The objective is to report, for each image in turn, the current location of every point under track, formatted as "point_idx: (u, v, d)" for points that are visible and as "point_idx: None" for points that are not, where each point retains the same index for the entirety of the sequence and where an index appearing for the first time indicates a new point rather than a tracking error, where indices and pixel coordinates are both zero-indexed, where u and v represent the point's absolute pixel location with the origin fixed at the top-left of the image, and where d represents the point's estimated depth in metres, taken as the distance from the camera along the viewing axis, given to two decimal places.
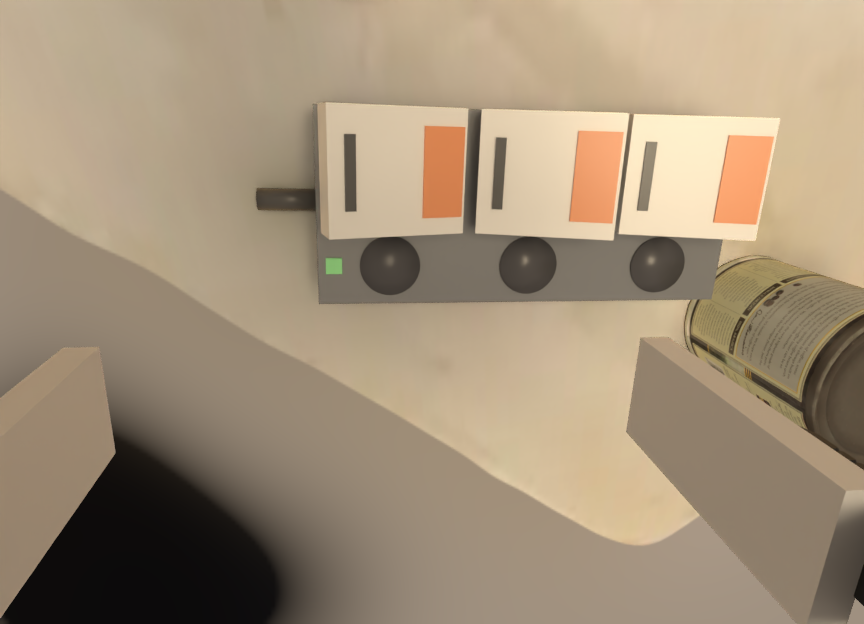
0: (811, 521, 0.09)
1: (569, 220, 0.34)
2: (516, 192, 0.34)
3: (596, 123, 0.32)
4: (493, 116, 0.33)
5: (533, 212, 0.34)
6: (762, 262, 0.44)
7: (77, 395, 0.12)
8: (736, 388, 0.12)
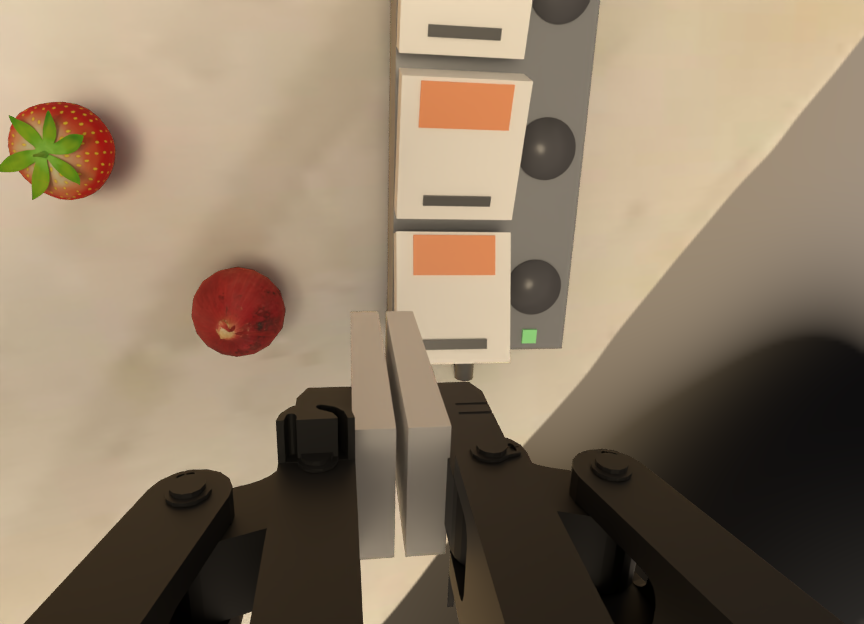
0: (405, 458, 0.11)
1: (507, 129, 0.32)
2: (475, 183, 0.34)
3: (412, 108, 0.31)
4: (403, 207, 0.34)
5: (496, 166, 0.33)
6: None
7: None
8: (419, 351, 0.13)
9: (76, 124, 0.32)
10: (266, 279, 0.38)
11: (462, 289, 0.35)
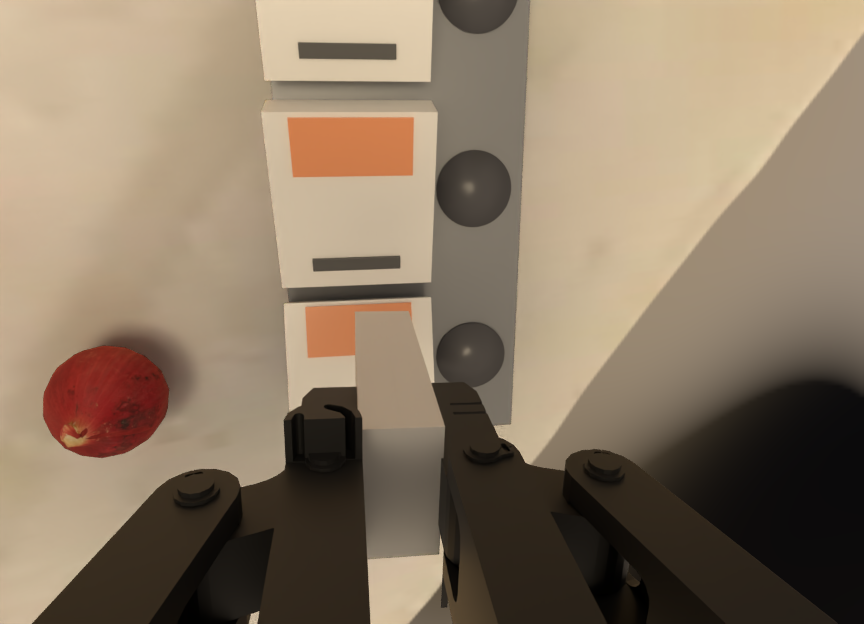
0: None
1: (411, 173, 0.25)
2: (378, 241, 0.27)
3: (281, 154, 0.24)
4: (289, 274, 0.27)
5: (402, 219, 0.26)
6: None
7: None
8: (414, 351, 0.13)
9: None
10: (138, 361, 0.31)
11: None
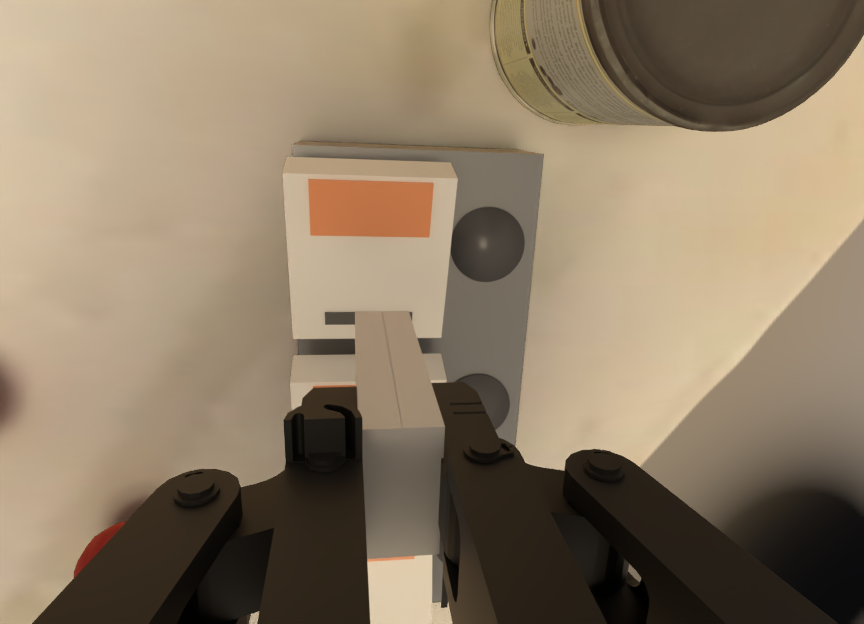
0: None
1: None
2: None
3: None
4: None
5: None
6: (499, 30, 0.29)
7: None
8: (414, 351, 0.13)
9: None
10: None
11: (376, 575, 0.31)
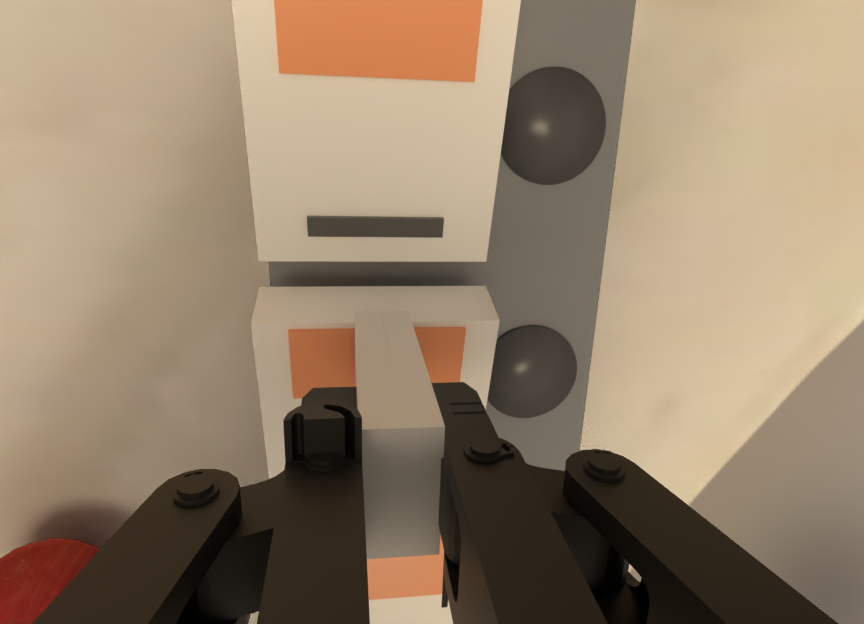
0: None
1: None
2: None
3: (277, 371, 0.17)
4: None
5: None
6: None
7: None
8: (414, 351, 0.13)
9: None
10: None
11: (389, 619, 0.21)
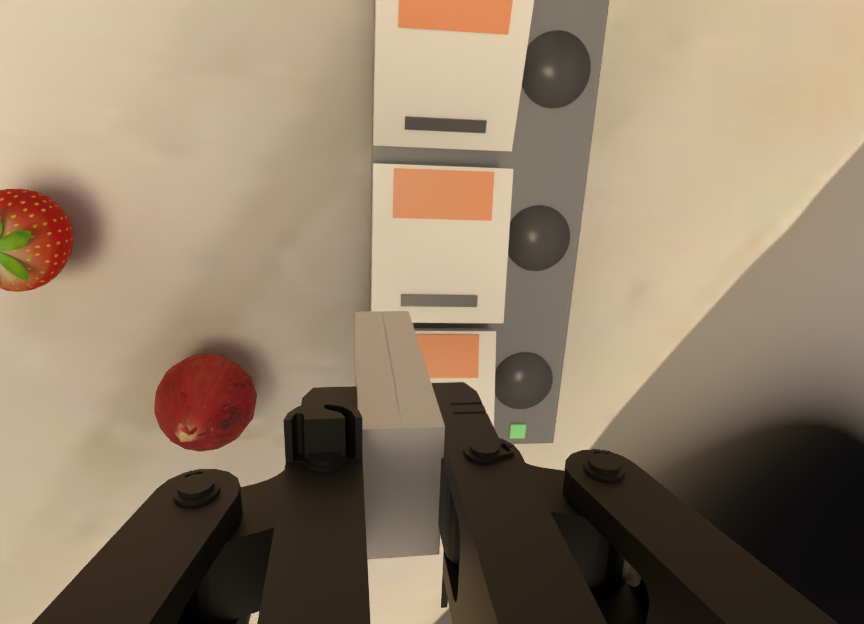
0: None
1: (489, 220, 0.30)
2: (459, 280, 0.30)
3: (385, 198, 0.29)
4: (379, 309, 0.30)
5: (481, 261, 0.30)
6: None
7: None
8: (414, 351, 0.13)
9: (25, 216, 0.30)
10: (235, 369, 0.36)
11: None
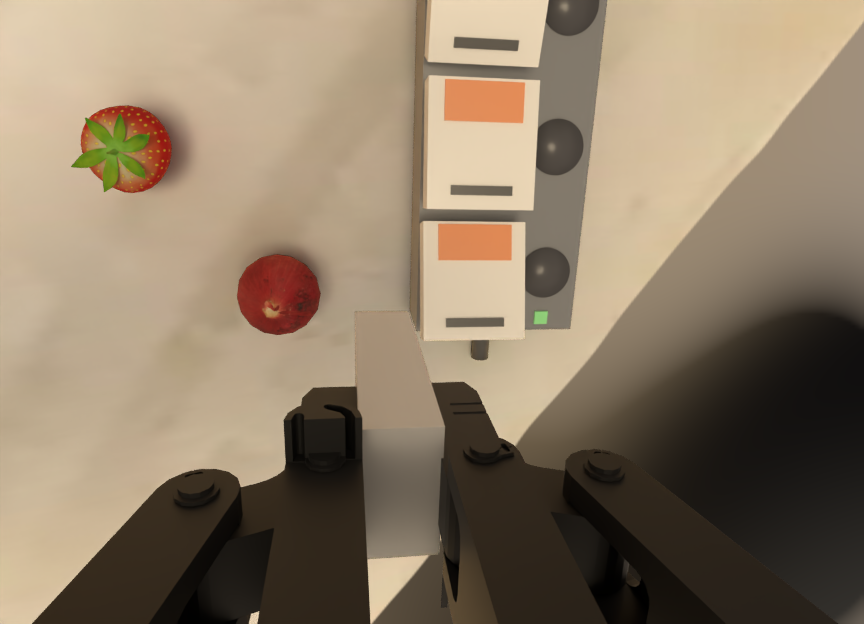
0: None
1: (521, 123, 0.37)
2: (497, 174, 0.37)
3: (438, 104, 0.36)
4: (433, 197, 0.37)
5: (514, 157, 0.37)
6: None
7: None
8: (414, 351, 0.13)
9: (141, 125, 0.36)
10: (304, 265, 0.42)
11: (482, 273, 0.40)
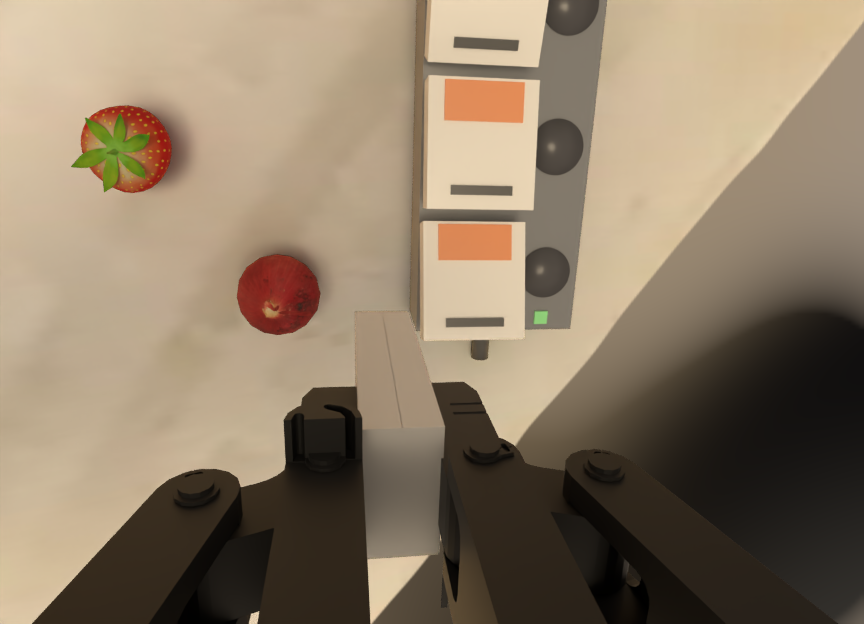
0: None
1: (521, 123, 0.37)
2: (497, 173, 0.37)
3: (438, 104, 0.36)
4: (433, 197, 0.37)
5: (514, 157, 0.37)
6: None
7: None
8: (414, 351, 0.13)
9: (141, 125, 0.36)
10: (304, 265, 0.42)
11: (482, 273, 0.40)
